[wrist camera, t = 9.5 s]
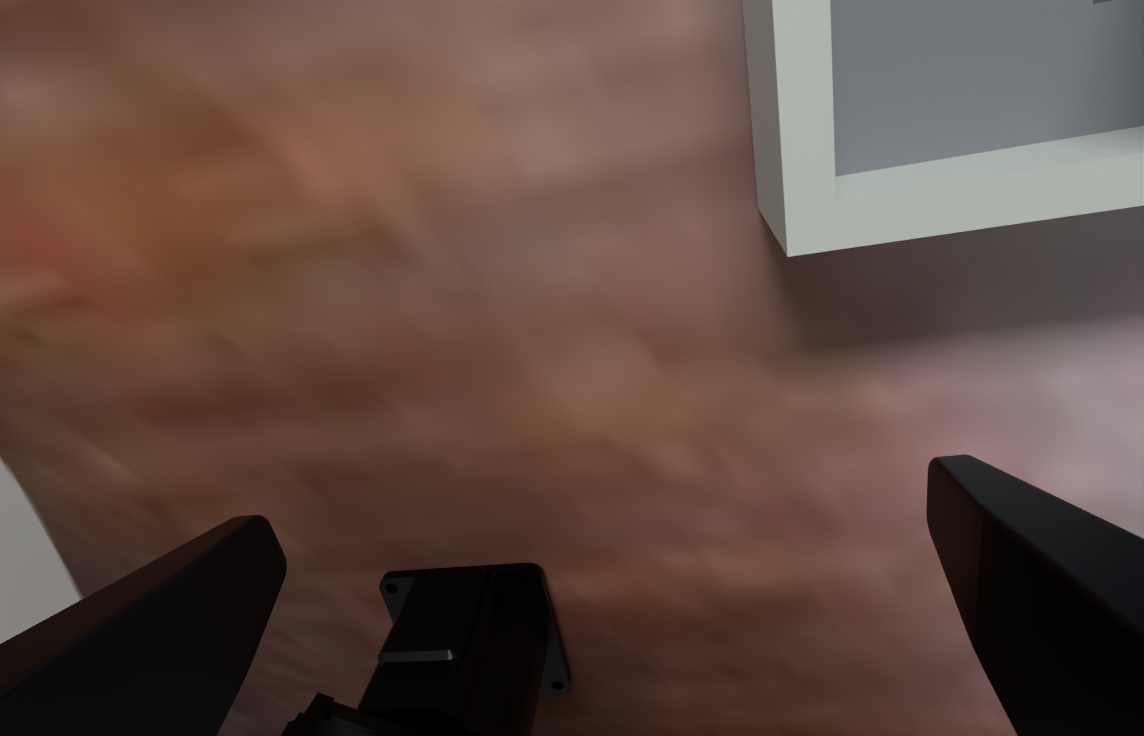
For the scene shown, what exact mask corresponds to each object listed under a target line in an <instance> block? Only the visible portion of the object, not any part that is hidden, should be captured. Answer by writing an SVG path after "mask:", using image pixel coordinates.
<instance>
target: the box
mask: <svg viewBox="0 0 1144 736" xmlns="http://www.w3.org/2000/svg"><path fill="white" fill-rule="evenodd" d="M742 5H743V18H744V31H745V45H746V58H747V71H748V84H749V97H750V110H751V123H752V136H753V150H754V163H755V176H756V189H757V202H758V209H759V210H760V212H761V214H762V215H763V217H764V219H765V220H766V222H767V224H768V225H769V227H770V229H771V230H772V232H773V234H774V235H775V237H776V239H777V240H778V242H779V244H780V245H781V247H782V249H783V250H784V252H785V254H786V255H787V257H791V256H798V255H805V254H812V253H819V252H826V251H833V250H839V249H846V248H853V247H860V246H867V245H874V244H881V243H888V242H895V241H902V240H909V239H915V238H922V237H929V236H936V235H943V234H950V233H957V232H964V231H971V230H978V229H985V228H992V227H998V226H1005V225H1012V224H1019V223H1026V222H1033V221H1040V220H1047V219H1054V218H1061V217H1068V216H1074V215H1081V214H1088V213H1095V212H1102V211H1109V210H1116V209H1123V208H1130V207H1137V206H1144V0H742Z"/></svg>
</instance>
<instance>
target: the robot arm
mask: <svg viewBox="0 0 1144 736" xmlns="http://www.w3.org/2000/svg"><path fill="white" fill-rule="evenodd" d="M927 522H928V528H929V531H930V535H931V537H932V540H933V543H934V545H935V548H936V551H937V553H938V556H939V559H940V561H941V564H942V567H943V569H944V572H945V575H946V578H947V580H948V583H949V586H950V588H951V591H952V594H953V596H954V599H955V602H956V604H957V607H958V610H959V612H960V615H961V618H962V620H963V623H964V626H965V628H966V631H967V633H968V636H969V638H970V641H971V644H972V646H973V648H974V650H975V653H976V655H977V657H978V659H979V661H980V663H981V665H982V667H983V669H984V671H985V673H986V675H987V677H988V679H989V681H990V683H991V685H992V687H993V689H994V691H995V693H996V695H997V696H998V698H999V700H1000V702H1001V704H1002V706H1003V708H1004V710H1005V712H1006V714H1007V716H1008V718H1009V720H1010V722H1011V724H1012V726H1013V728H1014V730H1015V732H1016V733H1017V735H1018V736H1144V539H1143V538H1141V537H1139V536H1137V535H1135V534H1133V533H1131V532H1129V531H1127V530H1125V529H1122V528H1120V527H1118V526H1116V525H1114V524H1112V523H1110V522H1108V521H1106V520H1104V519H1102V518H1100V517H1097V516H1095V515H1093V514H1091V513H1089V512H1087V511H1085V510H1083V509H1081V508H1079V507H1077V506H1075V505H1072V504H1070V503H1068V502H1066V501H1064V500H1062V499H1060V498H1058V497H1056V496H1054V495H1052V494H1050V493H1047V492H1045V491H1043V490H1041V489H1039V488H1037V487H1035V486H1033V485H1031V484H1029V483H1027V482H1025V481H1023V480H1020V479H1018V478H1016V477H1014V476H1012V475H1010V474H1008V473H1006V472H1004V471H1002V470H1000V469H998V468H995V467H993V466H991V465H989V464H987V463H985V462H983V461H981V460H979V459H977V458H975V457H972V456H970V455H955V456H943V457H935V458H933V459H932V460H931V461H930V463H929V467H928V484H927ZM286 571H287V562H286V558H285V555H284V553H283V551H282V548H281V546H280V544H279V542H278V540H277V537H276V535H275V533H274V531H273V529H272V527H271V524H270V523H269V521H268V520H267V519H266V518H265V517H264V516H261V515H248V516H237V517H234V518H231V519H230V520H228V521H226V522H224V523H222V524H220V525H218V526H217V527H215V528H213V529H211V530H209V531H207V532H206V533H204V534H202V535H200V536H198V537H196V538H195V539H193V540H191V541H189V542H187V543H185V544H184V545H182V546H180V547H178V548H176V549H174V550H172V551H171V552H169V553H167V554H165V555H163V556H161V557H160V558H158V559H156V560H154V561H152V562H150V563H149V564H147V565H145V566H143V567H141V568H139V569H138V570H136V571H134V572H132V573H130V574H128V575H126V576H125V577H123V578H121V579H119V580H117V581H115V582H114V583H112V584H110V585H108V586H106V587H104V588H103V589H101V590H99V591H97V592H95V593H93V594H92V595H90V596H88V597H86V598H84V599H82V600H80V601H79V602H77V603H75V604H73V605H71V606H70V607H68V608H66V609H64V610H62V611H60V612H59V613H57V614H55V615H53V616H51V617H50V618H47V619H46V620H44V621H42V622H40V623H38V624H36V625H35V626H33V627H31V628H29V629H27V630H25V631H23V632H22V633H20V634H18V635H16V636H14V637H12V638H11V639H9V640H7V641H5V642H3V643H2V644H0V736H217V734H218V732H219V730H220V728H221V726H222V724H223V722H224V720H225V718H226V716H227V714H228V712H229V710H230V708H231V706H232V704H233V702H234V700H235V698H236V696H237V694H238V692H239V690H240V687H241V685H242V683H243V681H244V679H245V677H246V675H247V673H248V670H249V668H250V665H251V663H252V661H253V658H254V656H255V653H256V651H257V648H258V645H259V643H260V640H261V638H262V635H263V633H264V630H265V627H266V625H267V622H268V620H269V617H270V615H271V612H272V609H273V607H274V604H275V602H276V599H277V597H278V594H279V592H280V589H281V586H282V584H283V581H284V579H285V576H286ZM526 575H529V576H532V577H533V578H528V577H526ZM392 584H394V585H396V586H394V585H392ZM379 587H380V591H381V594H382V596H383V599H384V601H385V604H386V606H387V609H388V611H389V614H390V616H391V619H392V621H393V626H392V628H391V630H390V632H389V634H388V636H387V638H386V640H385V642H384V644H383V647H382V649H381V651H380V653H379V655H378V660H379V663H378V665H377V667H376V669H375V671H374V673H373V675H372V678H371V680H370V682H369V684H368V686H367V688H366V690H365V692H364V695H363V697H362V699H361V701H360V703H359V705H358V707H357V709H355V708H352V707H349V706H346V705H343V704H340V703H337V702H335V701H334V698H333V697H330V696H327V695H324V694H321V693H317V695H316V696H315V698H314V699H313V701H312V702H311V704H310V705H309V707H308V708H307V710H306V711H305V713H301V712H300V713H299V714H298V716H297V717H296V719H295V720H294V721H290V722H288V724H287V726H286V727H285V729H284V731H283V733H282V734H281V736H531V732H532V727H533V721H534V716H535V711H536V706H537V701H538V696H539V695H549V694H564V693H566V692H568V690H569V689H570V682H571V676H570V672H569V668H568V664H567V660H566V657H565V653H564V649H563V645H562V641H561V638H560V634H559V630H558V626H557V622H556V619H555V615H554V611H553V607H552V604H551V600H550V596H549V592H548V588H547V585H546V581H545V577H544V573H543V571H542V569H541V568H540V567H539V566H538V565H536V564H534V563H514V564H499V565H483V566H467V567H451V568H436V569H420V570H404V571H391V572H387V573H386V574H385V575H384V577H383V578H382V580H381V582H380V585H379ZM559 681H560V682H559Z"/></svg>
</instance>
